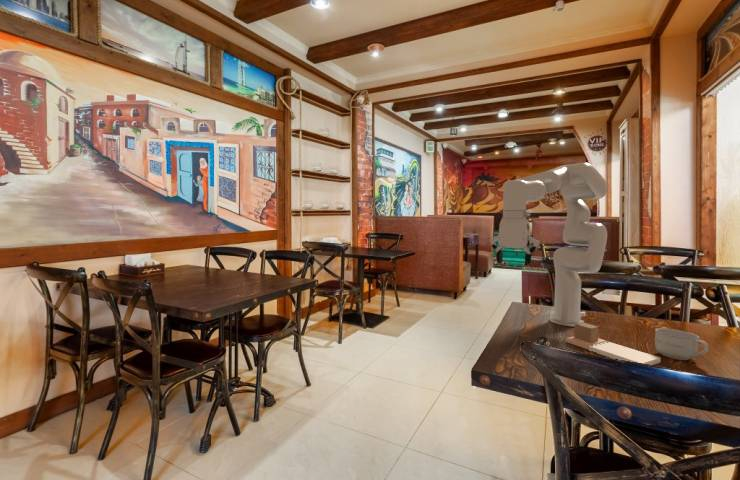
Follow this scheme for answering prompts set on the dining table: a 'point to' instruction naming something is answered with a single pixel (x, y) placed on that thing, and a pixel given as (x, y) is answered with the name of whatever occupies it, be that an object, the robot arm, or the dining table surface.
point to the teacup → (678, 344)
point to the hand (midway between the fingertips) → (513, 263)
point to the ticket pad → (623, 353)
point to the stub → (585, 335)
